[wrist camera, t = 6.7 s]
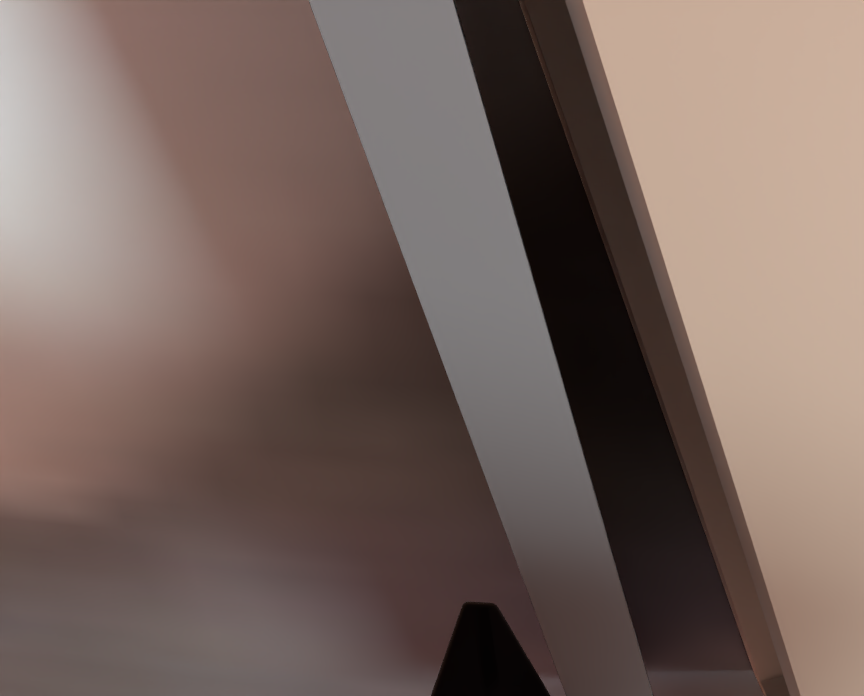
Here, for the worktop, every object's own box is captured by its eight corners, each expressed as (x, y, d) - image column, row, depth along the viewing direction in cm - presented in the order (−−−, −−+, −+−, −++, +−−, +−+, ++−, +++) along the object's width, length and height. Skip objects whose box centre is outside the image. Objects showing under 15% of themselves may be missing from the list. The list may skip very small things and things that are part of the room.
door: (650, 683, 14) (724, 948, 10) (560, 699, 15) (599, 960, 11) (280, -607, 6) (-54, -1757, 2) (107, -507, 7) (-449, -1343, 3)
